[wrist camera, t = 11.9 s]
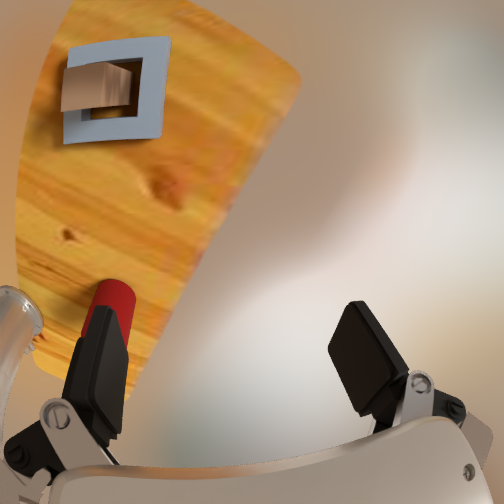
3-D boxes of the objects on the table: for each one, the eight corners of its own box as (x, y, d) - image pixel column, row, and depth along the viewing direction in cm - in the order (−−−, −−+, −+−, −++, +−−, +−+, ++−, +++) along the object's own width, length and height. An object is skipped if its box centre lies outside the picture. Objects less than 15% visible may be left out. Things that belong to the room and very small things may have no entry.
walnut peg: (131, 104, 26) (100, 106, 17) (101, 106, 25) (60, 112, 16) (134, 73, 24) (105, 61, 15) (104, 75, 23) (64, 68, 14)
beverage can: (92, 297, 39) (73, 352, 29) (106, 269, 37) (84, 326, 27) (127, 314, 42) (116, 372, 32) (143, 289, 40) (132, 348, 30)
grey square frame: (161, 135, 29) (158, 138, 27) (73, 140, 27) (63, 144, 24) (171, 41, 23) (168, 36, 21) (79, 51, 21) (69, 48, 18)
